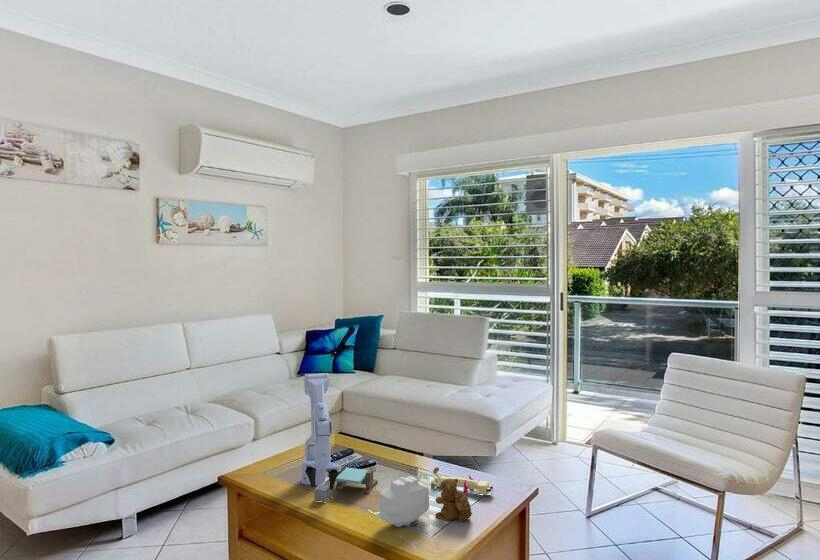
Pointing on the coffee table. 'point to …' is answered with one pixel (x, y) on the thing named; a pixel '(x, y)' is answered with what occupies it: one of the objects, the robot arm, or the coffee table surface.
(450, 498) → the stuffed squirrel
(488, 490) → the cat figure
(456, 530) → the coffee table surface
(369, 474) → the trapdoor frame
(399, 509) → the grey rounded lump
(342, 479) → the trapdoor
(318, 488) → the stone
